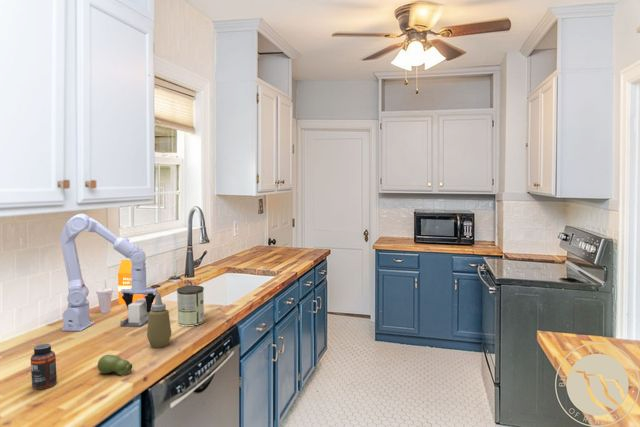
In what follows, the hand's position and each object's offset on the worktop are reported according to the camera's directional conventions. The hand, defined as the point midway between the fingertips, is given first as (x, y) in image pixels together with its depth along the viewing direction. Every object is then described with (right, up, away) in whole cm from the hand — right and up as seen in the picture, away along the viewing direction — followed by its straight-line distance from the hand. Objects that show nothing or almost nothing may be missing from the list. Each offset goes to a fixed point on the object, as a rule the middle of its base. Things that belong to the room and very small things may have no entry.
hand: (139, 311), depth 179 cm
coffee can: (+22, -4, -3) cm, 22 cm away
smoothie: (-20, -3, +11) cm, 23 cm away
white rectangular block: (0, -3, 0) cm, 3 cm away
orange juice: (-15, -2, +27) cm, 31 cm away
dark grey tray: (0, -4, 0) cm, 3 cm away
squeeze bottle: (+18, -6, -26) cm, 32 cm away
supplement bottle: (-3, -8, -56) cm, 57 cm away
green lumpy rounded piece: (+13, -8, -48) cm, 50 cm away
